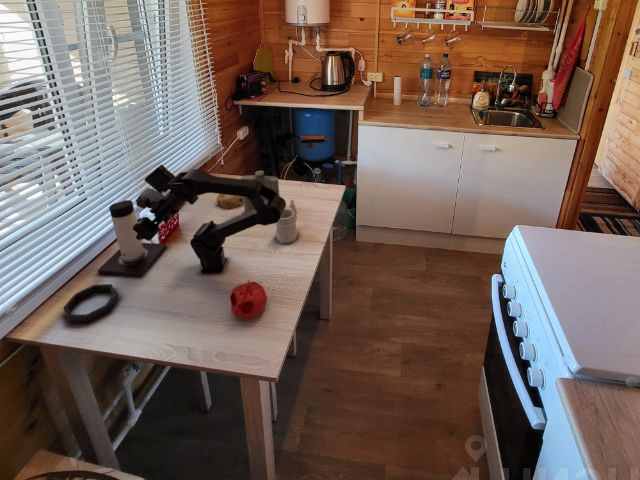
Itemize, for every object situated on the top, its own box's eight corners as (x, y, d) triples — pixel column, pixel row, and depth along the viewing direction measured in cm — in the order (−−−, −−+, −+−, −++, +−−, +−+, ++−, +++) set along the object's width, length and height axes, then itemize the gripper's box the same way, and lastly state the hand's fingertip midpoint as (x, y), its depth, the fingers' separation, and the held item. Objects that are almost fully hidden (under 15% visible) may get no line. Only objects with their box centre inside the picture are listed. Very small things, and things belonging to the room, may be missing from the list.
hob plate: (166, 247, 130) (165, 243, 130) (141, 277, 117) (140, 272, 117) (128, 245, 131) (126, 241, 131) (98, 274, 118) (97, 269, 118)
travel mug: (124, 265, 119) (110, 211, 112) (121, 254, 124) (107, 201, 117) (146, 257, 123) (133, 204, 116) (142, 247, 128) (130, 195, 121)
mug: (272, 241, 134) (269, 212, 129) (286, 222, 144) (284, 195, 140) (292, 245, 132) (290, 216, 127) (305, 226, 142) (304, 198, 138)
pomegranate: (249, 291, 112) (246, 265, 109) (275, 304, 108) (272, 278, 104) (222, 314, 104) (218, 287, 101) (249, 330, 100) (245, 303, 96)
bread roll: (235, 217, 154) (241, 201, 151) (210, 207, 152) (217, 191, 150) (242, 203, 163) (248, 189, 160) (219, 194, 161) (225, 179, 159)
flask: (247, 209, 153) (242, 169, 146) (282, 211, 152) (279, 170, 145) (243, 214, 149) (239, 173, 143) (279, 216, 148) (276, 175, 142)
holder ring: (125, 290, 112) (123, 283, 111) (102, 323, 101) (100, 316, 100) (84, 291, 111) (82, 285, 111) (57, 324, 101) (54, 317, 100)
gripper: (170, 169, 121) (144, 197, 126) (131, 200, 104) (103, 231, 109) (197, 191, 124) (171, 218, 129) (164, 226, 106) (135, 255, 111)
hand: (146, 229), depth 119 cm, fingers open, 9 cm apart
